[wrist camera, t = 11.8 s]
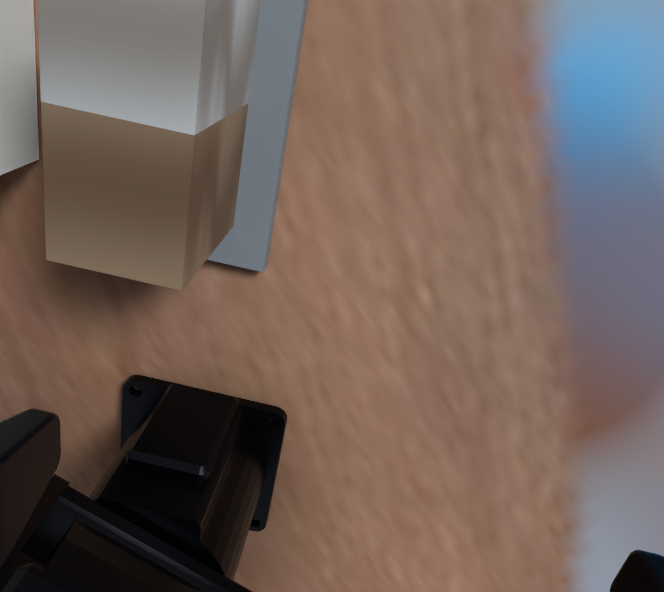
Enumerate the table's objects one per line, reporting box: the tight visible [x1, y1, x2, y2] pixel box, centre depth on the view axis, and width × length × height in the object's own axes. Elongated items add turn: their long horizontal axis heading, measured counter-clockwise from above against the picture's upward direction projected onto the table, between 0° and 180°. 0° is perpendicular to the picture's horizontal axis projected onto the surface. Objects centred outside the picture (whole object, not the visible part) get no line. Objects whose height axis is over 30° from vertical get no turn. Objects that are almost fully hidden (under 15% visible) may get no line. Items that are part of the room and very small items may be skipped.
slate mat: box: [207, 0, 307, 272], centre depth 18 cm, size 10×6×1 cm, turn 169°
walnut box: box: [38, 0, 261, 291], centre depth 16 cm, size 7×4×5 cm, turn 169°
